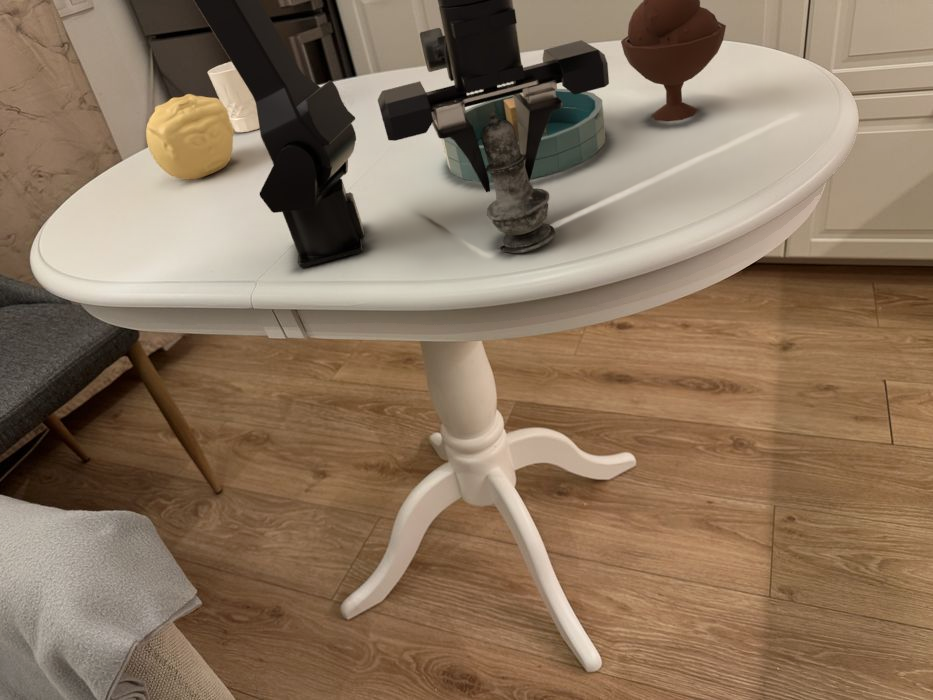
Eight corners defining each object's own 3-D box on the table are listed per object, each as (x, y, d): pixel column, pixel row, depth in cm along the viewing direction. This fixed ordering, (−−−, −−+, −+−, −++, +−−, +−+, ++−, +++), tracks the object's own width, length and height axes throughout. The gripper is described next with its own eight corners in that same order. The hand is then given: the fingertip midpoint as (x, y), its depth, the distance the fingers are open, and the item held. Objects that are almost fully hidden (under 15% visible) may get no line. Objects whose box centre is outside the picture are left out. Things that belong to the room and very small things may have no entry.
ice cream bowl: (744, 113, 79) (749, -34, 70) (660, 143, 76) (654, -5, 68) (687, 96, 87) (684, -38, 78) (609, 122, 85) (599, -12, 76)
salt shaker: (488, 240, 66) (449, 117, 60) (544, 217, 66) (511, 93, 60) (508, 261, 61) (468, 130, 55) (568, 236, 61) (535, 103, 55)
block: (515, 140, 85) (510, 108, 82) (508, 131, 88) (503, 99, 86) (546, 132, 85) (542, 100, 82) (538, 123, 88) (534, 91, 86)
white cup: (223, 136, 117) (198, 76, 111) (245, 120, 123) (222, 62, 117) (263, 131, 114) (239, 69, 109) (283, 115, 120) (262, 55, 115)
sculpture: (188, 192, 96) (153, 115, 90) (152, 181, 104) (118, 109, 98) (256, 160, 102) (228, 85, 96) (218, 151, 110) (189, 82, 104)
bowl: (463, 202, 74) (455, 162, 71) (439, 149, 89) (431, 115, 87) (629, 158, 75) (627, 117, 72) (577, 113, 90) (573, 78, 87)
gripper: (560, -40, 61) (578, 134, 69) (354, 12, 60) (399, 180, 69) (603, -28, 51) (617, 170, 60) (359, 33, 51) (410, 224, 60)
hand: (507, 185), depth 63 cm, fingers closed on salt shaker, 3 cm apart
